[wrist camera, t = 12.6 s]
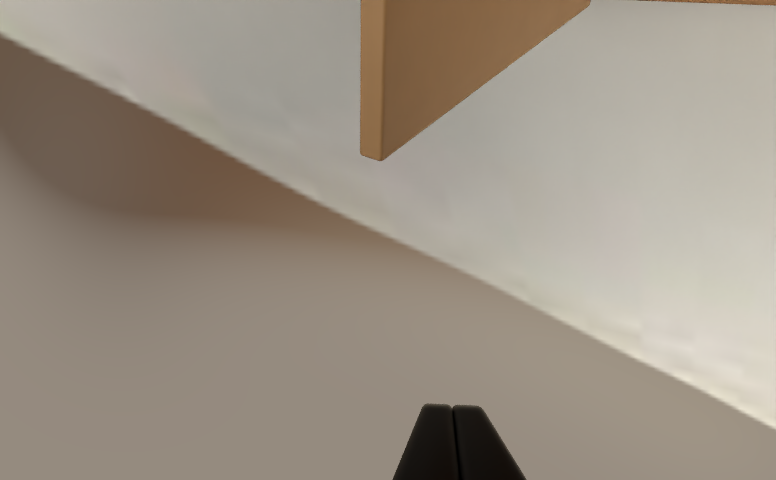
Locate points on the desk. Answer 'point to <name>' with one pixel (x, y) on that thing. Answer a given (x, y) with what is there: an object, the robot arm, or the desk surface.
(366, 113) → the flap
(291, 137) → the desk surface
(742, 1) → the carton
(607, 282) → the desk surface
